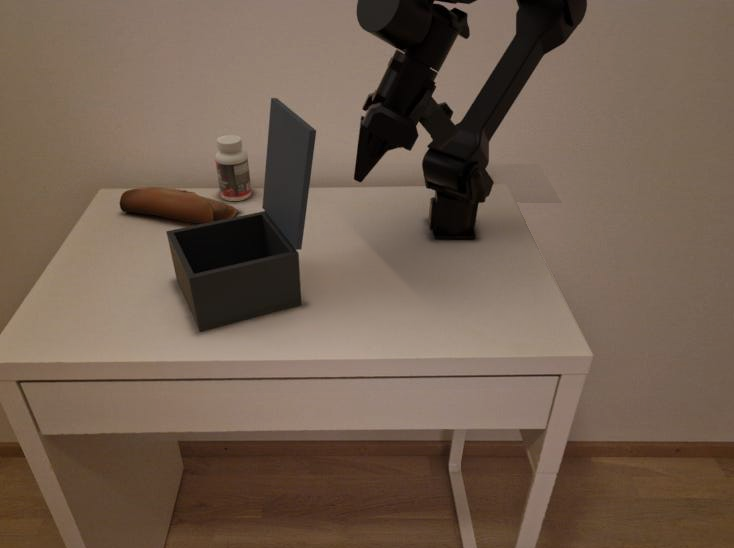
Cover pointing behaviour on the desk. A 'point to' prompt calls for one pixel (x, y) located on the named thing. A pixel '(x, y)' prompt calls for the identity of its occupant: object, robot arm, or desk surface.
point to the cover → (288, 171)
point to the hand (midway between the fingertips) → (357, 180)
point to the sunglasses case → (175, 205)
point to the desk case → (235, 269)
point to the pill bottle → (232, 169)
